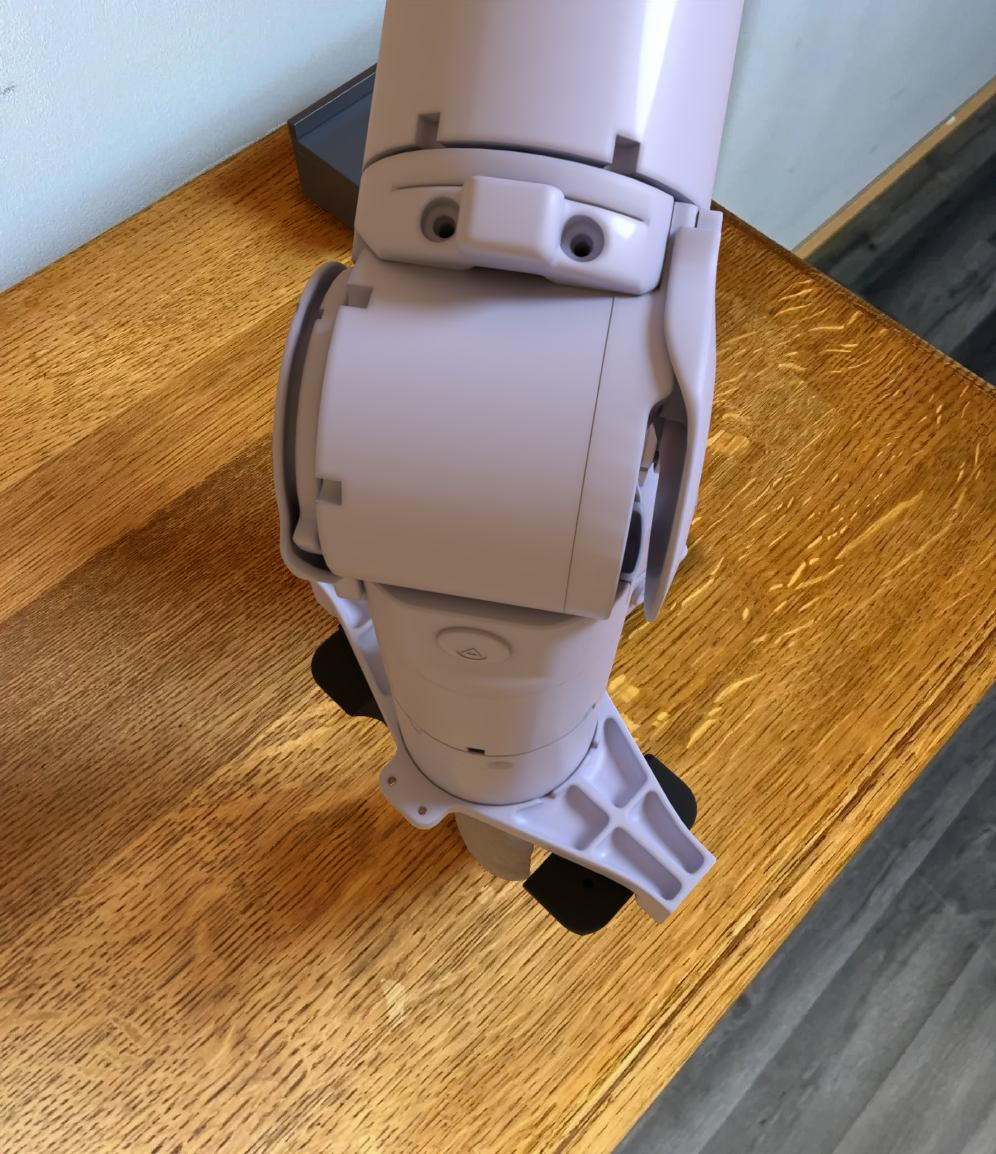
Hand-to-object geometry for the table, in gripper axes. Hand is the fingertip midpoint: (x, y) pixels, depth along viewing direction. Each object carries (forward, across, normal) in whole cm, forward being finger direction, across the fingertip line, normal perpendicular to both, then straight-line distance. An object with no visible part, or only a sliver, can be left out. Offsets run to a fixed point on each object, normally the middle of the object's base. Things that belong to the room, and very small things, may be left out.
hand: (497, 792), depth 37 cm
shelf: (+6, -31, +25) cm, 40 cm away
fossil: (+6, 0, 0) cm, 6 cm away
